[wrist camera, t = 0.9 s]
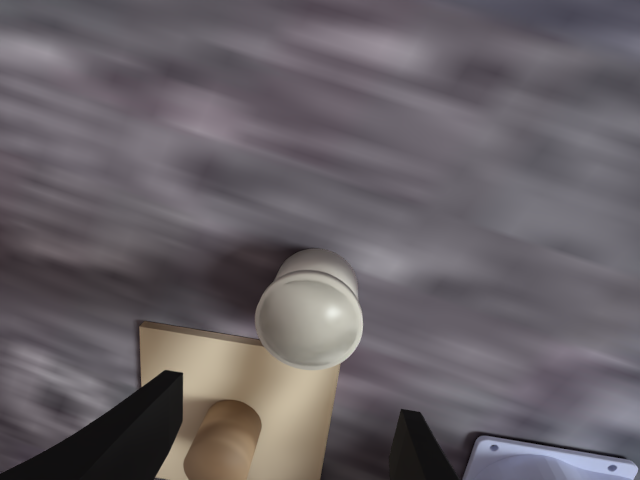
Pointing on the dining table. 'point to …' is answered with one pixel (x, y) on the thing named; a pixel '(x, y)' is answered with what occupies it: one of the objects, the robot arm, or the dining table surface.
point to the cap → (311, 311)
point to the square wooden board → (239, 407)
